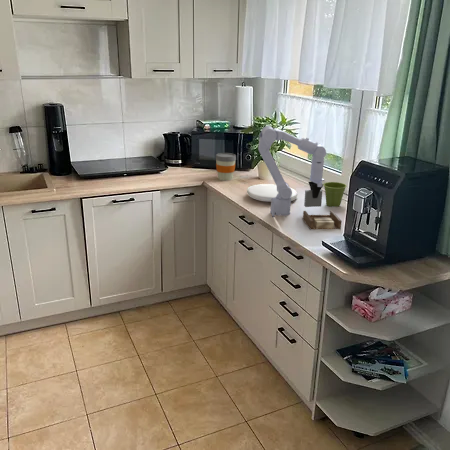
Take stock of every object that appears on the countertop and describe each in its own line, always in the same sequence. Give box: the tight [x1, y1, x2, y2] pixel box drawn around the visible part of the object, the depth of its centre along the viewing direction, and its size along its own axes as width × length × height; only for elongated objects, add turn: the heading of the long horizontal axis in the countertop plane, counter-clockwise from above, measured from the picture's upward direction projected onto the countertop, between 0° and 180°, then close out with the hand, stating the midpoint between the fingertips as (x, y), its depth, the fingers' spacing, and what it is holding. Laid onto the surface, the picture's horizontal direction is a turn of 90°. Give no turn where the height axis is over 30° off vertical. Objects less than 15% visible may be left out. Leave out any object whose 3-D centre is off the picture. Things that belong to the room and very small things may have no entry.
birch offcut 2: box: [315, 221, 334, 230], centre depth 212 cm, size 8×2×3 cm, turn 95°
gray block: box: [303, 189, 323, 208], centre depth 227 cm, size 8×2×8 cm, turn 95°
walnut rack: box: [302, 210, 342, 230], centre depth 216 cm, size 14×14×5 cm
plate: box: [246, 183, 298, 203], centre depth 255 cm, size 28×6×27 cm
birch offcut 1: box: [313, 218, 332, 226], centre depth 214 cm, size 8×2×3 cm, turn 95°
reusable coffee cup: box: [215, 152, 237, 181], centre depth 289 cm, size 13×13×15 cm
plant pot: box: [322, 181, 347, 208], centre depth 244 cm, size 12×12×11 cm
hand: (314, 197), depth 227 cm, fingers closed on gray block, 2 cm apart
